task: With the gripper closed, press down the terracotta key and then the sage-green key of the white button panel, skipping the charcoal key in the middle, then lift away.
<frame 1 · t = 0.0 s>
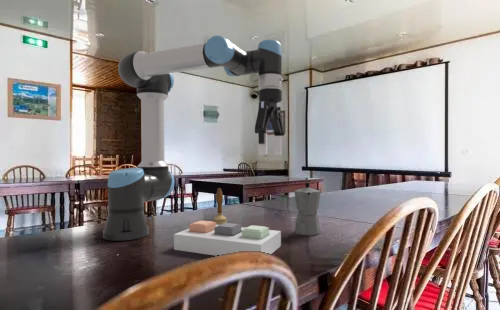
hand: (270, 155, 103), 28 cm above the table, tool pointing down, fingers open, 13 cm apart
terracotta key: (202, 227, 99), point 5 cm above the table, slide at 0.0 cm
sage key: (255, 233, 92), point 5 cm above the table, slide at 0.0 cm
hand bell: (220, 232, 115), on the table
charcoal key: (228, 230, 96), point 5 cm above the table, slide at 0.0 cm
white button panel: (228, 247, 96), on the table
coffeepot: (307, 232, 115), on the table
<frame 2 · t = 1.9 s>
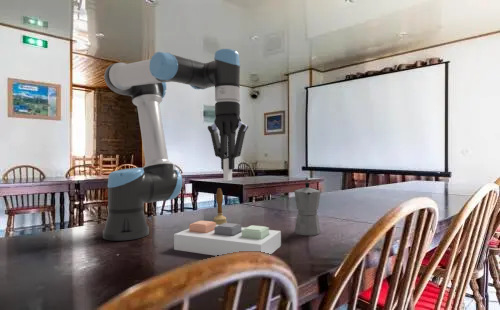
hand: (227, 180, 96), 20 cm above the table, tool pointing down, fingers closed
nothing on the table moved.
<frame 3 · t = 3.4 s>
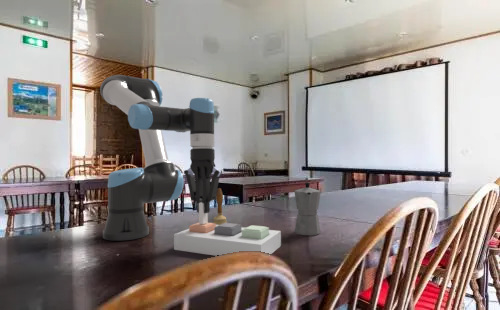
hand: (203, 223, 99), 7 cm above the table, tool pointing down, fingers closed
terracotta key: (202, 229, 99), point 5 cm above the table, slide at 0.5 cm, touching gripper
everything else where it was.
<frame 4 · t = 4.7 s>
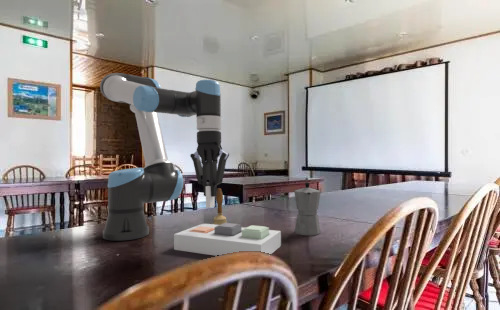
hand: (210, 207, 98), 12 cm above the table, tool pointing down, fingers closed
terracotta key: (202, 233, 99), point 3 cm above the table, slide at 1.9 cm
everything else where it was.
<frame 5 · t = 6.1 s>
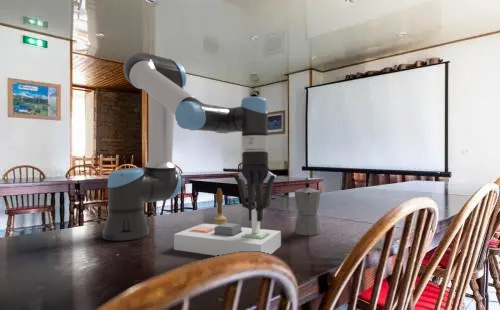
hand: (256, 232, 92), 6 cm above the table, tool pointing down, fingers closed
sage key: (255, 238, 92), point 4 cm above the table, slide at 1.6 cm, touching gripper
everything else where it was.
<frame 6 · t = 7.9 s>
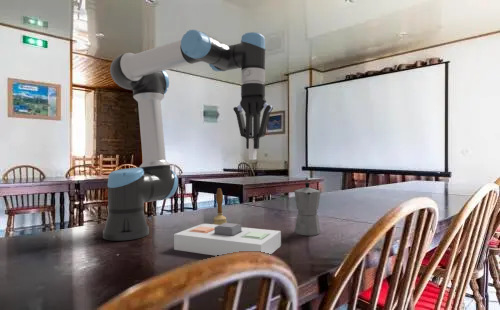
hand: (252, 159, 100), 27 cm above the table, tool pointing down, fingers closed
sage key: (255, 239, 92), point 3 cm above the table, slide at 1.9 cm
everything else where it was.
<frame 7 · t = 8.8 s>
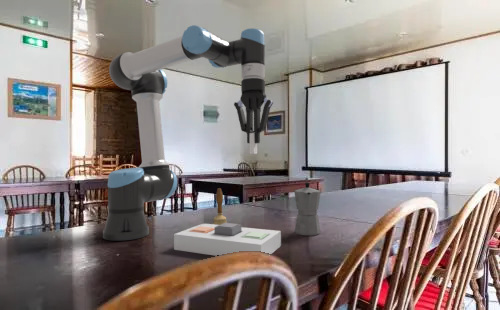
hand: (253, 153, 101), 28 cm above the table, tool pointing down, fingers closed
nothing on the table moved.
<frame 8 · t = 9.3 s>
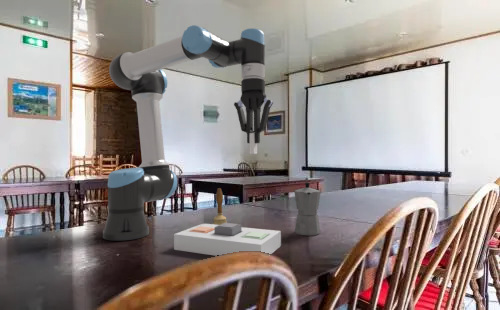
hand: (253, 153, 101), 28 cm above the table, tool pointing down, fingers closed
nothing on the table moved.
at the end: terracotta key slide at 1.9 cm; sage key slide at 1.9 cm; charcoal key slide at 0.0 cm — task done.
